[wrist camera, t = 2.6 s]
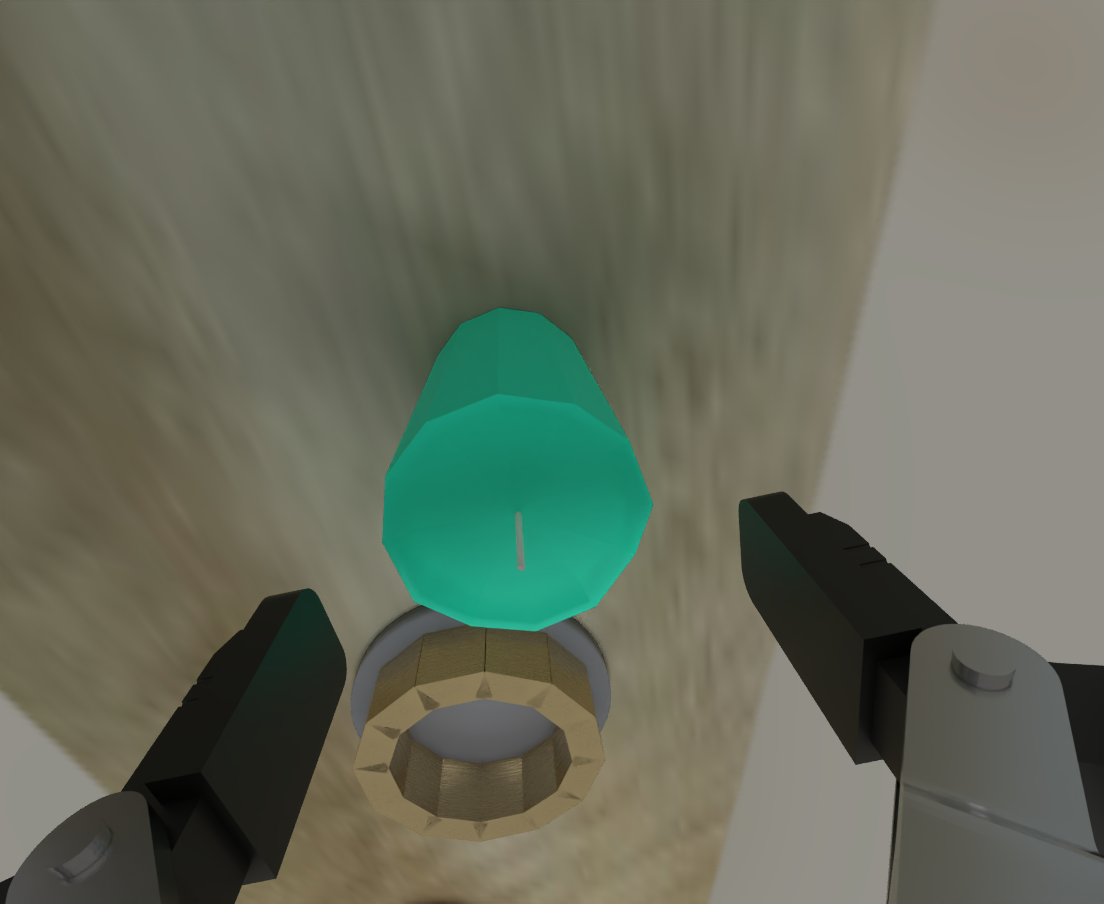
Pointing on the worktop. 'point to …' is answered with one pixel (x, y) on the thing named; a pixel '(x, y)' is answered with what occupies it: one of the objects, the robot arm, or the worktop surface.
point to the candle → (512, 480)
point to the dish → (482, 723)
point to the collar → (471, 788)
